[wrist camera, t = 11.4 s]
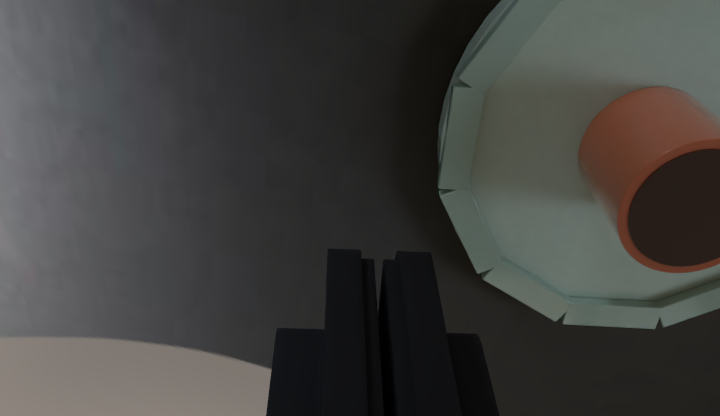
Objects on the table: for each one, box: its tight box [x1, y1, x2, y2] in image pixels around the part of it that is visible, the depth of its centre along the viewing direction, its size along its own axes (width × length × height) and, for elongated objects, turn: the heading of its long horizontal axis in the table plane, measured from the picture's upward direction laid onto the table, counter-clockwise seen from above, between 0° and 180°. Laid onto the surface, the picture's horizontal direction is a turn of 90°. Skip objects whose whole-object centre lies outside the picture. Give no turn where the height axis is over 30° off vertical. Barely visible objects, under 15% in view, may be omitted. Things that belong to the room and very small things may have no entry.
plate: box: [437, 0, 720, 329], centre depth 31 cm, size 20×20×2 cm
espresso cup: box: [578, 87, 720, 273], centre depth 29 cm, size 7×6×6 cm
